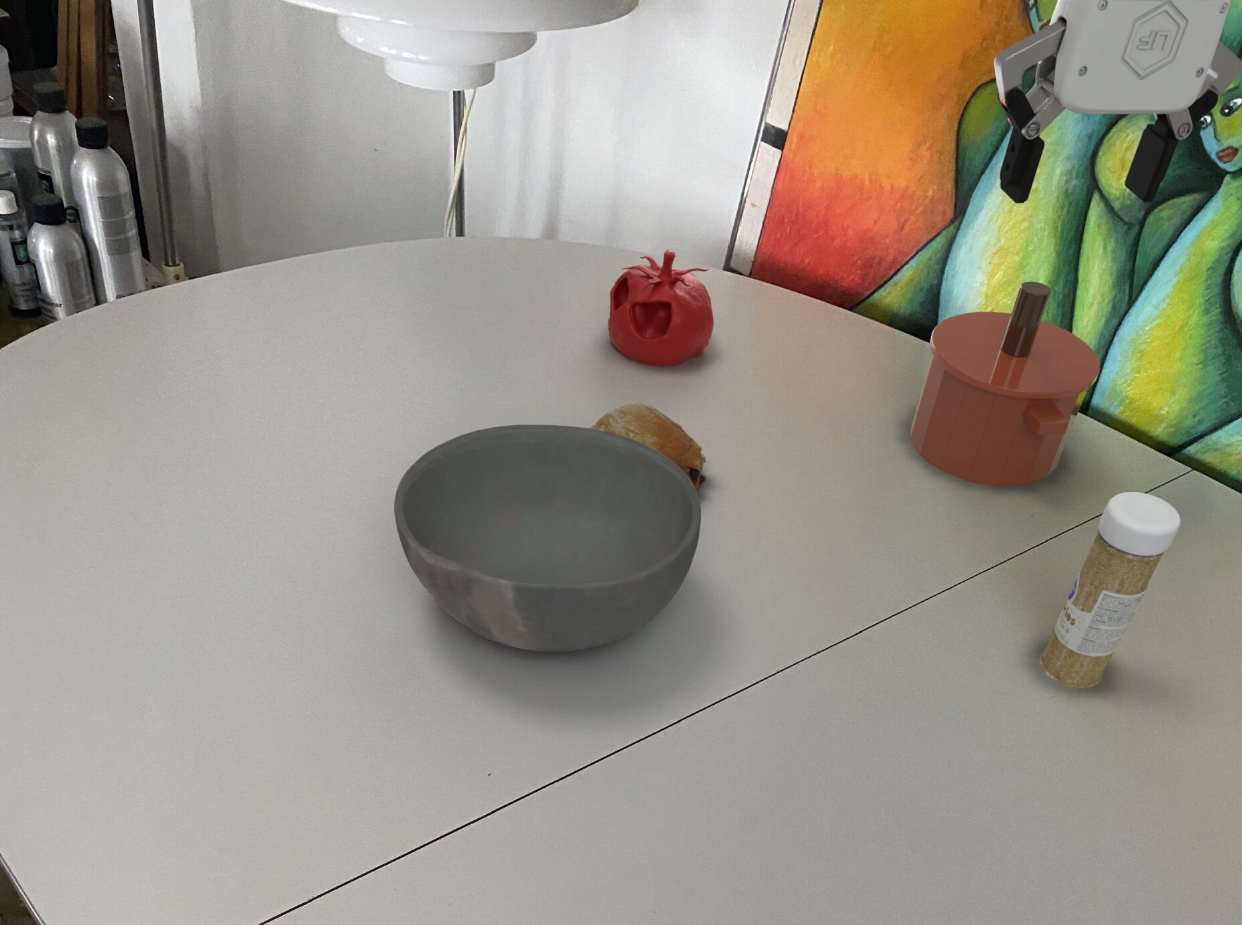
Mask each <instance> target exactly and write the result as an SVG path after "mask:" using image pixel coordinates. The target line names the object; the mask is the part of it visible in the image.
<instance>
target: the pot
mask: <svg viewBox="0 0 1242 925" xmlns="http://www.w3.org/2000/svg"><path fill="white" fill-rule="evenodd" d="M1087 391H1088V389H1087V390H1085V391H1083V392H1082V393H1079V394H1076V395H1074V396H1070V397H1065V398H1059V399H1025V398H1017V397H1011V396H1006V395H1001V394H998V393H994V392H990V391H987V390H984V389H981V388H979V387H976V386H974V385H971V384H969V383H967V382H965V381H963V380H961V379H959V378H957V377H956V376H954V375H952V374H951V373H950V372H948V371H947V370H945V369H944V368H943V367H942V366H941V365H940V364H939V363H938V362H937V361H936V359H935V358H934V356H933V355H932V353H931V354H930V358H929V362H928V365H927V369H926V372H925V375H924V379H923V383H922V386H921V390H920V393H919V398H918V401H917V404H916V408H915V411H914V415H913V418H912V422H911V426H910V434H909V441H910V444H912V446H913V448H914V449H915V451H916V452H917V454H918V456H919V457H920V458H922V459H923V460H924V461H926V462H927V463H929V464H930V465H931V466H933V467H935V468H936V469H937V470H939V471H940V472H943V473H945V474H948V475H950V476H952V477H956V478H958V479H961V480H963V481H964V482H965V481H966V482H969V483H974V484H980V485H986V486H992V487H999V488H1000V487H1022V486H1028V485H1031V484H1034V483H1037V482H1039V481H1042V480H1045V479H1047V478H1048V477H1049V476H1050V475H1052V473H1053V472H1054V470H1055V469H1056V468H1057V467H1058V465H1059V463H1060V459H1061V457H1062V455H1063V452H1064V449H1065V448H1066V444H1067V442H1068V440H1069V436H1070V434H1071V432H1072V430H1073V426H1074V424H1075V422H1076V419H1077V416H1078V414H1079V411H1080V409H1081V406H1082V403H1083V401H1084V398H1085V396H1086V393H1087Z"/></svg>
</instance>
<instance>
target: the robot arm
mask: <svg viewBox="0 0 1242 925" xmlns="http://www.w3.org/2000/svg"><path fill="white" fill-rule="evenodd" d="M1231 2H1232V0H1057V2H1056V5H1055V8H1054V10H1053V12H1052V16H1051V18H1050V22H1049V24H1048V25H1047V26H1046V27H1044V28H1041V29H1040V30H1038V31H1037V32H1034V33H1032V34H1031V35H1029V36H1027V37H1025V38H1023V39H1021V40H1020V41H1018V42H1016V43H1014V44H1012V45H1010V46H1009V47H1006V48H1005V49H1003V50H1001V51H1000V52H998V53H997V54H996V56H995V57H994V60H993V61H994V62H993V66H994V72H995V73H994V74H995V79H996V80H995V81H996V87H997V89H998V90H997V100H998V101H999V103H1000V105H1001V107H1002V109H1003V111H1004V113H1005V114H1006V116H1007V121H1008V123H1009V124H1010V125H1011V126H1012V129H1011V133H1010V137H1009V140H1008V143H1007V147H1006V150H1005V153H1004V157H1003V160H1002V164H1001V167H1000V171H999V181H1000V183H999V188H1000V190H1002V192H1003V193H1004V194H1006V196H1008V197H1009V199H1010V200H1012V201H1013V202H1014V204H1025V202H1027V201H1028V200H1029V198H1030V195H1031V190H1032V188H1033V185H1034V181H1035V178H1036V175H1037V172H1038V168H1039V165H1040V162H1041V159H1042V156H1043V153H1044V149H1045V143H1046V142H1045V140H1044V139H1042V137H1041V136H1040V135H1041V134H1042V133H1043V132H1044V131H1045V130H1046V129H1047V128H1048V127H1049V126H1050V125H1051V124H1052V123H1053V122H1054V121H1055V120H1056V119H1057V118H1058V117H1059V116H1060V115H1061V114H1062V113H1063V112H1064V111H1065V110H1067V111H1070V112H1073V113H1077V114H1094V115H1153V117H1154V120H1155V122H1154V123H1147V124H1146V126H1145V128H1144V129H1143V131H1142V133H1141V136H1140V139H1139V142H1138V145H1137V146H1136V150H1135V153H1134V155H1133V158H1132V161H1131V164H1130V167H1129V168H1128V172H1127V175H1126V177H1125V180H1124V187H1125V188H1126V189H1127V190H1129V191H1130V192H1131V193H1132V194H1133V195H1135V197H1136V198H1138V199H1139V200H1141V201H1142V203H1152V202H1154V201H1155V198H1156V197H1157V194H1158V191H1159V189H1160V185H1161V184H1162V183H1163V181H1164V179H1165V177H1166V174H1167V172H1168V170H1169V167H1170V164H1171V161H1172V159H1173V157H1174V154H1175V151H1176V150H1177V146H1178V143H1179V141H1182V140H1185V139H1187V137H1189V136H1190V135H1191V133H1192V131H1193V127H1194V125H1196V124H1197V123H1198V122H1199V121H1201V120H1202V119H1203V118H1204V117H1205V116H1206V115H1207V114H1209V113H1210V112H1211V111H1212V110H1213V109H1214V108H1215V107H1216V106H1217V104H1218V102H1219V97H1220V96H1221V95H1224V93H1225V92H1226V91H1227V89H1229V87H1230V86H1231V85H1232V83H1233V82H1234V81H1235V80H1236V78H1238V76H1239V75H1240V74H1241V72H1242V60H1241V59H1240V58H1239V57H1238V56H1237V55H1236V54H1235V53H1234V52H1233V51H1232V50H1231V49H1230V48H1228V47H1227V45H1226V44H1224V43H1223V41H1221V40H1220V39H1221V36H1222V32H1223V29H1224V25H1225V22H1226V19H1227V17H1228V13H1229V9H1230V6H1231ZM1034 65H1037V66H1036V70H1035V84H1034V85H1033V86H1032V88H1031V89H1029V91H1027V93H1026V94H1025V92H1024V91H1023V75H1024V73H1025V72H1026V71H1027V69H1029V68H1030V67H1033V66H1034Z"/></svg>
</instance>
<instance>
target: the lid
mask: <svg viewBox="0 0 1242 925" xmlns="http://www.w3.org/2000/svg"><path fill="white" fill-rule="evenodd" d="M1051 295H1052V288H1050V286H1048V285H1046V284H1045V283H1042V282H1038V281H1024V282H1022V283H1021V284H1020V286H1019V289H1018V291H1017V295H1016V297H1015V300H1014V304H1013V307H1012V310H1011V313H1010V312H1003V311H1002V312H1000V311H973V312H965V313H959V314H956V315H952V316H950V317H947V318H946V319H944V320H942V321H941V322H939V323H938V324H937V325H936V326H935V327H934V329H933V330H932V332H931V336H930V339H929V349H930V352H931V354H932V355H933V356H934V358H935V359H936V361H937V362H938V363H939V364H940V365H941V366H942V367H943V368H944V369H945V370H947V371H948V372H950V373H951V374H952V375H954V376H956V377H957V378H959V379H961V380H963V381H965V382H967V383H969V384H971V385H974V386H976V387H979V388H981V389H984V390H987V391H990V392H994V393H998V394H1001V395H1006V396H1011V397H1017V398H1025V399H1059V398H1065V397H1070V396H1074V395H1076V394H1079V393H1082V392H1083V391H1085V390H1087V391H1088V390H1089V389H1090V388H1091V387H1092V386H1093V385H1095V382H1096V381H1097V378H1098V376H1099V374H1100V370H1101V369H1100V368H1101V367H1100V366H1101V364H1100V360H1099V358H1098V355H1097V354H1096V352H1095V351H1094V350H1093V348H1092V347H1091V346H1089V344H1087V342H1085V341H1084V340H1083V339H1081V338H1080V337H1078V336H1077V335H1075V334H1073V333H1072V332H1070V331H1068V330H1066V329H1064V328H1063V327H1060V326H1058V325H1055V324H1053V323H1050V322H1048V321H1046V320H1045V321H1044V320H1043V317H1044V314H1045V311H1046V309H1047V306H1048V302H1049V300H1050V297H1051Z"/></svg>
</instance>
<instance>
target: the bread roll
mask: <svg viewBox="0 0 1242 925" xmlns="http://www.w3.org/2000/svg"><path fill="white" fill-rule="evenodd" d="M589 429H594V430H600V431H604V432H609V433H613V434H616V435H620V436H623V437H626V438H629V439H632V440H635V441H637V442H640V443H642V444H644V445H646V446H649V447H650V448H652V449H654V450H656V451H658V452H660V453H661V454H663V455H664V456H666V457H668V458H669V459H671V460H672V461H673V462H674V463H676V464H677V465H678V466H679V467H680V468H681V469H682V470H683V472H684V473H685V474H686V475H687V476H688V477H689V479H690V480H691V482H692V483H693V485H694V487H695V489H696V491H697V492H698V490H699V489H700V486H701V485H702V484H703V483H705V482H706V476H704V475H702V471H703V467H704V464H705V463H706V462H707V459H706V456H705V455H704V454H703V453H702V450H703V448H702V446H701V445H699V443H698V442H697V441H696V440H695V439H694V438H693V437H692V436H690V435H689V434H688V432H686V431H685V430H684V429H683V427H682V426H681V425H680V424H678V423H677V422H675V421H674V420H672V419H671V418H670V417H668V416H667V415H666V414H664V413H663V412H661V411H660V410H658V409H657V408H656V407H654V406H653V405H651V404H646V403H640V402H639V403H629V404H625V405H622V406H620V407H617V408H614V409H612V410H610V411H608V412H606V413H604V414H603V415H602V416H601V417H600V418H599V419H598V420H597V421H596V422H595V424H594V425H591V427H589Z"/></svg>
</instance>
